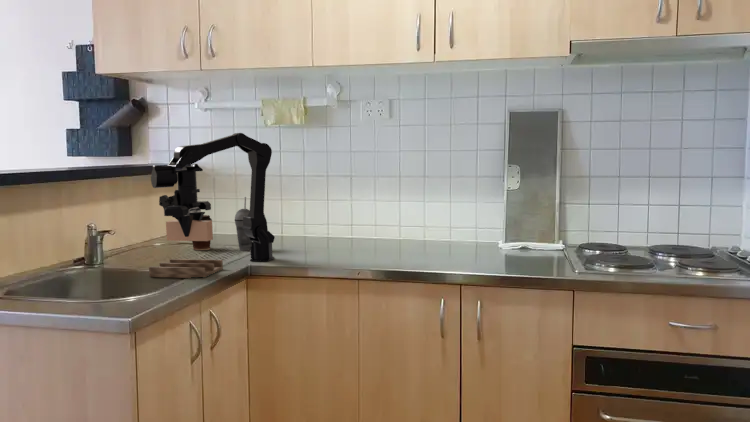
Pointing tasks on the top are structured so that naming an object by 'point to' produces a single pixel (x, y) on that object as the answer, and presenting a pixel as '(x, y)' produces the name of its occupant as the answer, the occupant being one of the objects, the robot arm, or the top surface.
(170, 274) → the drying rack
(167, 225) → the pink rectangular block
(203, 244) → the coffee cup
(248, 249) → the beverage cup
